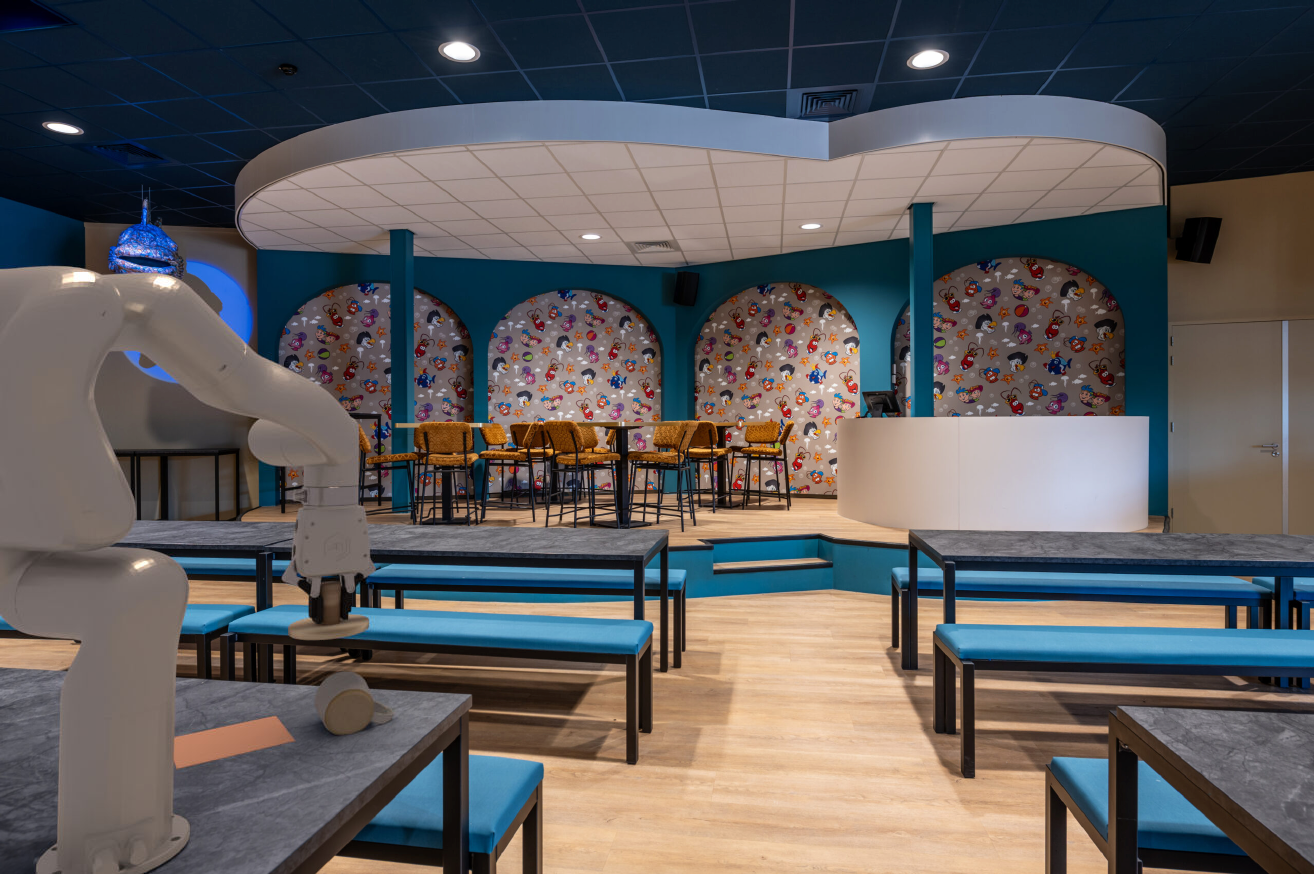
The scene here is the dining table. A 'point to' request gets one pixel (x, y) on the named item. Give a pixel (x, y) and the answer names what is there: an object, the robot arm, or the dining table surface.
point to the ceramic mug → (348, 704)
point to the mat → (229, 741)
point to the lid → (329, 618)
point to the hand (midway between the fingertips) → (330, 618)
